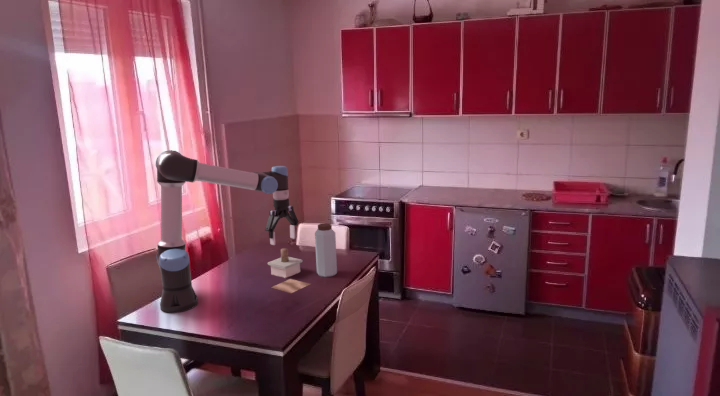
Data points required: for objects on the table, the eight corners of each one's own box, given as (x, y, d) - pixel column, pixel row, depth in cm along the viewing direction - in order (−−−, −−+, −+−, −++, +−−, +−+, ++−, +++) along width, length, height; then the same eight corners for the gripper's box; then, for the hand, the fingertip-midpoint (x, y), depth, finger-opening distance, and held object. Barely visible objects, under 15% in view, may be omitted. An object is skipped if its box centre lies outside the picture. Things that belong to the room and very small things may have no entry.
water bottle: (338, 271, 251) (336, 222, 246) (335, 278, 241) (333, 227, 236) (318, 271, 252) (316, 222, 247) (315, 278, 242) (312, 227, 238)
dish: (286, 279, 243) (285, 268, 242) (271, 275, 249) (270, 264, 247) (300, 272, 251) (299, 262, 249) (285, 269, 256) (285, 259, 255)
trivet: (291, 294, 224) (291, 293, 224) (270, 288, 231) (270, 287, 231) (311, 285, 234) (310, 283, 234) (290, 279, 242) (290, 278, 242)
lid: (285, 269, 240) (284, 254, 239) (267, 264, 247) (266, 250, 246) (302, 262, 250) (301, 248, 248) (285, 258, 257) (284, 244, 255)
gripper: (267, 203, 230) (269, 248, 234) (304, 195, 250) (306, 236, 254) (256, 202, 234) (258, 246, 238) (293, 193, 254) (295, 234, 258)
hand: (283, 241), depth 246 cm, fingers open, 13 cm apart
